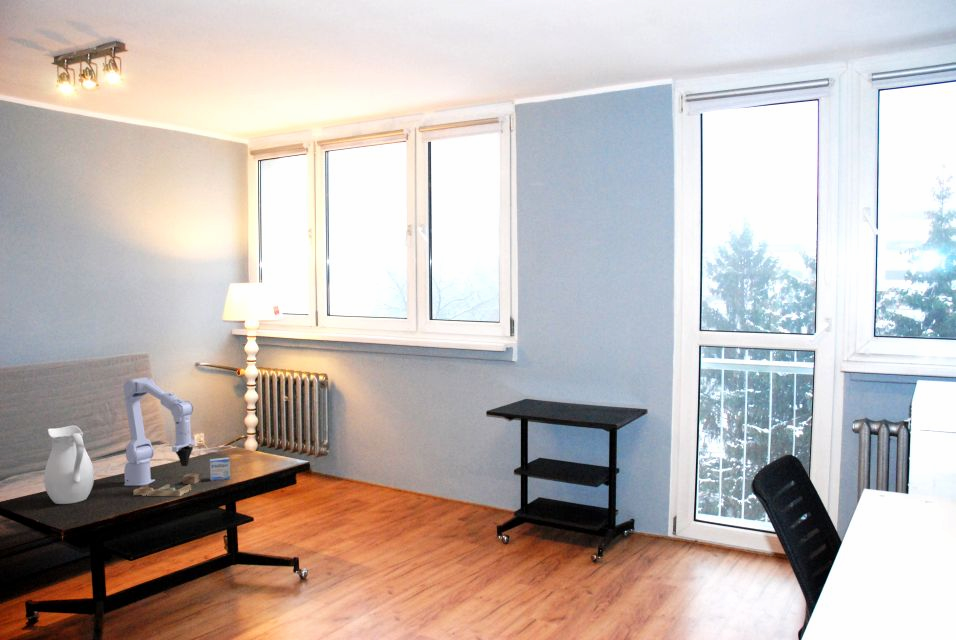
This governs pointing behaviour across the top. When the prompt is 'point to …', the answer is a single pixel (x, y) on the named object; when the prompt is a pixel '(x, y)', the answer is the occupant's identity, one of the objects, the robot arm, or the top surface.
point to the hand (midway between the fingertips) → (184, 465)
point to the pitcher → (68, 467)
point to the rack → (161, 491)
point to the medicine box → (219, 468)
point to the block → (191, 478)
